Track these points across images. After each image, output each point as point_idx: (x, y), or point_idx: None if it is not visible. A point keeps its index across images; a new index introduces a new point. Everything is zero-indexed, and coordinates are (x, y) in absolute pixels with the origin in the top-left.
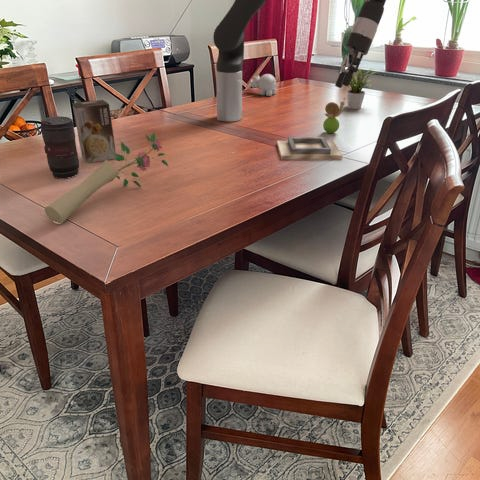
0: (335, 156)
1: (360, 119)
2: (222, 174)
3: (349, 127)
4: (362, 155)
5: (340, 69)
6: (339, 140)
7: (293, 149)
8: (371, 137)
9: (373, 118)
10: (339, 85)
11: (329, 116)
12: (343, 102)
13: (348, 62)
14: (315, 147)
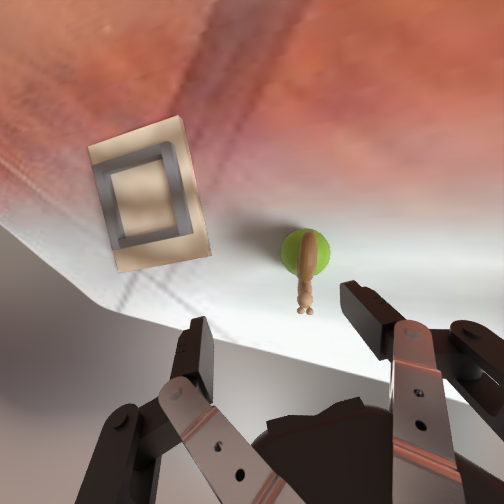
0: (117, 259)
1: None
2: (4, 53)
3: None
4: (155, 313)
5: (469, 350)
6: (243, 271)
7: (92, 167)
8: (282, 351)
9: None
10: (344, 304)
11: (300, 247)
12: (299, 303)
13: (193, 457)
14: (151, 215)
